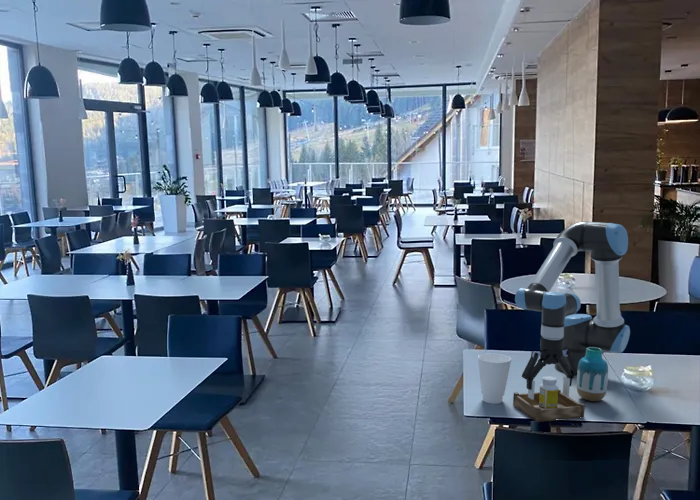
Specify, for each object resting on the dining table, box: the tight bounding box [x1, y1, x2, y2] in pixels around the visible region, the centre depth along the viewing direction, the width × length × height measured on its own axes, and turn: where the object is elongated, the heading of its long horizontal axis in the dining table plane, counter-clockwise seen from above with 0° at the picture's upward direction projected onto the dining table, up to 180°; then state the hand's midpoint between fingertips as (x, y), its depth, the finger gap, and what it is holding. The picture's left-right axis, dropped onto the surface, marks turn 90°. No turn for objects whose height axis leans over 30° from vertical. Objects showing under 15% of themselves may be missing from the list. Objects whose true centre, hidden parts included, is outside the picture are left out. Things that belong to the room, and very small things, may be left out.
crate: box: [512, 388, 586, 423], centre depth 231 cm, size 18×16×5 cm
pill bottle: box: [539, 375, 559, 409], centre depth 231 cm, size 6×6×11 cm
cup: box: [477, 352, 512, 405], centre depth 240 cm, size 12×12×16 cm
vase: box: [576, 347, 609, 402], centre depth 243 cm, size 11×11×19 cm
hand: (548, 396), depth 231 cm, fingers open, 13 cm apart
